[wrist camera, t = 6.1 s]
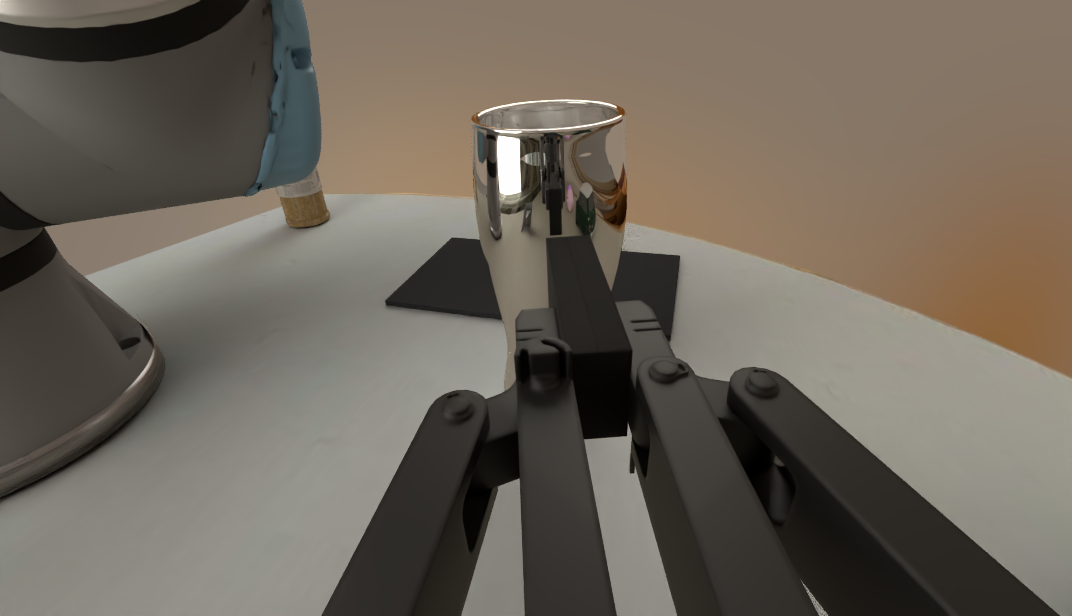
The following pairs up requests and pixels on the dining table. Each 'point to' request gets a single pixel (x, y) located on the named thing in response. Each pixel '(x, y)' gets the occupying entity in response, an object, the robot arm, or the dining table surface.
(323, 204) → the sprinkles bottle
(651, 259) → the mat
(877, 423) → the dining table surface
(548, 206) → the silver metal tumbler
